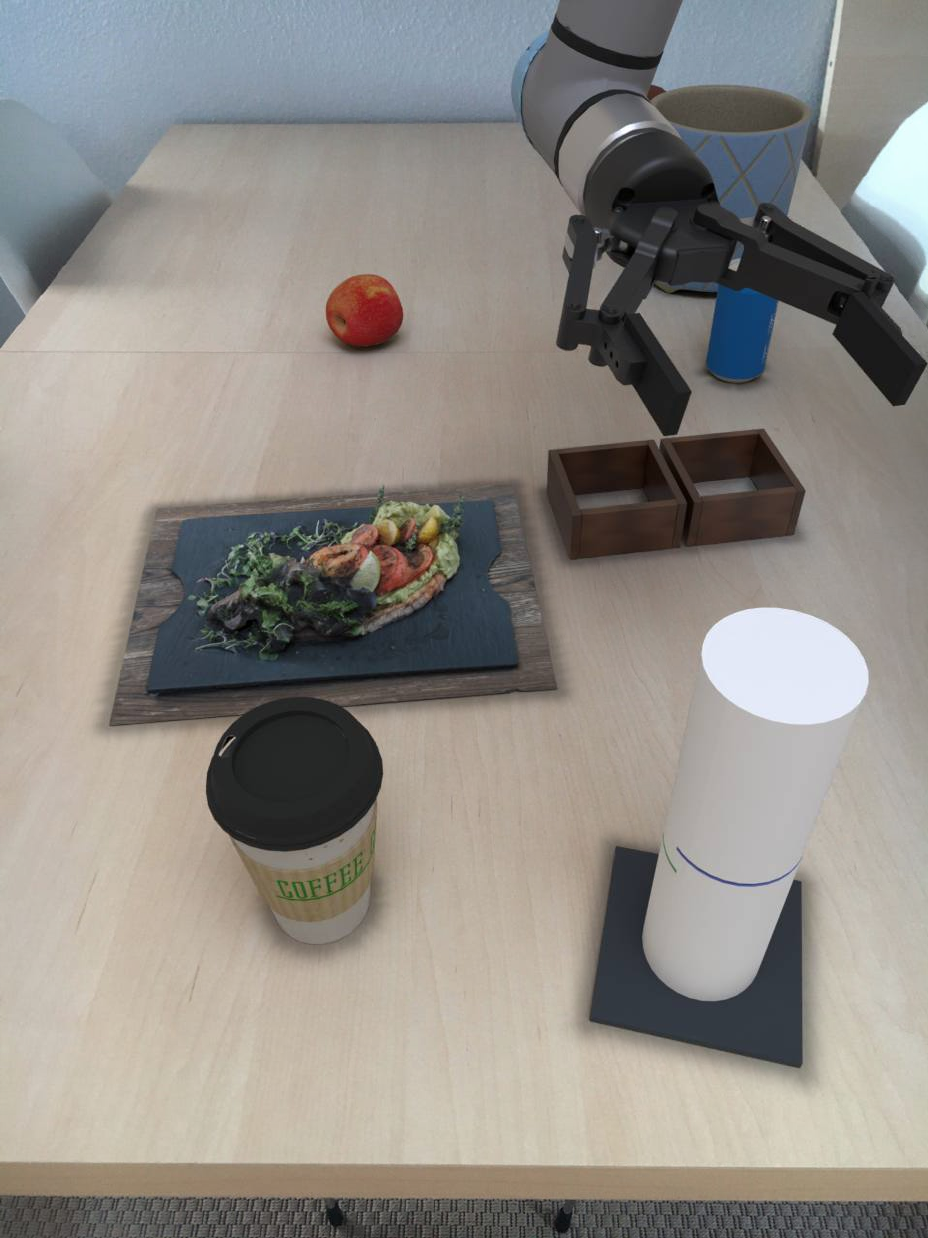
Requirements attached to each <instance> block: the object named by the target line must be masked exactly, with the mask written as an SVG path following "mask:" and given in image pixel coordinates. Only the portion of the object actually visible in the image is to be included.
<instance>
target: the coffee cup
mask: <svg viewBox="0 0 928 1238" xmlns="http://www.w3.org/2000/svg"><path fill="white" fill-rule="evenodd" d="M230 741H231V742H230ZM229 742H230V743H229ZM224 748H225V749H224ZM223 749H224V750H223ZM222 751H223V752H222ZM221 752H222V754H221ZM220 754H221V755H220ZM205 778H206V781H205V797H206V802H207V807H208V810H209V811H210V813H211V816H212V818H213V820H214V821H215V822H216V824H217V825H218V826H219V827H220V829H221V830H222V831H223V832H225V833H226V834H227V835H228V837H229V839H230V841H231V843H232V845H233V848H234V850H235V851H236V852H237V854H238V856H239V858H240V860H241V861H242V863H243V866H244V867H245V869H246V871H247V872H248V874H249V877H251V880H252V881H253V884H254V886H255V887H256V889H257V891H258V893H259V894H260V896H261V898H262V900H263V902H265V904H266V905H267V906H268V908H269V909H270V910H271V912H272V914H273V916H274V917H275V919H276V921H277V923H278V925H279V927H280V929H282V931H283V932H284V933H285V934H287V935H288V936H289V937H290V938H292V939H294V940H296V941H298V942H301V943H304V944H308V945H326V944H330V943H333V942H336V941H339V940H341V939H343V938H345V937H347V936H348V935H350V934H351V933H353V932H354V931H355V930H356V929H357V928H358V926H360V924H361V923H362V922H363V921H364V919H365V917H366V915H367V912H368V910H369V906H370V900H371V885H372V884H371V883H372V879H373V875H374V867H375V854H376V853H375V852H376V838H377V837H376V836H377V835H376V834H377V819H378V796H379V794H380V791H381V789H382V784H383V778H384V765H383V758H382V755H381V753H380V749H379V746H378V745H377V742H376V740H375V738H374V737H373V735H372V734H371V733H370V731H369V729H367V728H366V727H365V726H364V725H363V724H362V723H361V722H360V721H359V720H358V719H357V718H356V717H355V716H354V714H352V713H351V712H350V711H349V710H347V709H345V708H344V707H343V706H339V705H337V704H335V703H332V702H329V701H327V700H323V699H318V698H313V697H291V698H282V699H278V700H274V701H270V702H267V703H265V704H262V705H260V706H257V707H255V708H254V709H252V710H250V711H248V712H247V713H245V714H241V715H240V716H239V717H238V718H237V719H236V720H234V721H233V722H232V723H231V724H230V725H229V727H228V728H227V729H226V730H225V731H224V732H223V733H222V735H221V737H220V738H219V741H218V742H217V744H216V746H215V749H214V753H213V755H212V757H211V759H210V762H209V765H208V769H207V772H206V777H205Z"/></svg>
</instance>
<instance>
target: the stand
mask: <svg viewBox="0 0 928 1238" xmlns="http://www.w3.org/2000/svg"><path fill="white" fill-rule="evenodd" d="M547 451H548V452H547V453H548V454H547V473H546V493H545V494H546V497H547V498H548V502H549V505H550V507H551V510H552V512H553V515H554V519H555V522H556V525H557V527H558V530H559V533H560V536H561V539H562V542H563V545H564V547H565V550H566V552H567V555H568V559H569V560H578V559H586V558H597V557H604V556H613V555H623V554H631V553H640V552H651V551H659V550H668V549H675V548H676V549H679V548H681V543H682V540H683V542H684V545H685V546H686V547H695V546H707V545H715V544H724V543H731V542H739V541H751V540H759V539H760V540H761V539H767V538H768V539H769V538H777V537H786V536H793V535H795V533H796V529H797V526H798V521H799V517H800V514H801V510H802V506H803V503H804V499H805V495H806V492H807V491H806V489H805V487H804V486H803V484H802V483H801V481H800V479H799V478H798V477H797V474H795V472H794V471H793V469H792V467H791V466H790V464H789V463H788V462H787V460H786V459H785V458H784V456H783V455H782V453H781V452H780V450H779V449H778V447H777V446H776V444H775V443H774V441H773V440H772V438H771V437H770V436H769V434H768V432H767V431H766V429H765V428H754V429H753V428H752V429H743V430H734V431H723V432H714V433H704V434H693V435H683V436H674V437H664V438H660V440H659V446H658V444H657V442H656V441H655V439H643V440H634V441H624V442H623V441H622V442H613V443H604V444H593V445H583V446H574V447H563V448H555V449H554V448H553V449H548V450H547ZM738 478H739V479H740V478H750V479H751V481H752V483H753V484H754V485H755V487H756V489H757V490H748V491H747V490H745V491H736V492H727V493H719V494H709V495H700V494H699V492H698V489H697V488H696V486H695V484H694V483H700V482H701V483H702V482H712V481H719V480H720V481H721V480H730V479H731V480H732V479H738ZM635 489H643V491H644V493H645V495H646V498H647V500H648V501H644V502H636V503H626V504H625V503H624V504H615V505H607V506H597V507H588V508H581V509H580V506H579V504H578V501H577V499H576V496H578V495H588V494H596V493H607V492H615V491H625V490H635Z"/></svg>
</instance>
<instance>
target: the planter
mask: <svg viewBox="0 0 928 1238" xmlns="http://www.w3.org/2000/svg"><path fill="white" fill-rule="evenodd" d="M666 91H667V92H664V93H662V94H660V95H658V96H656V97H654V98H653V99H652V100H651V101H650V102H651V103H652V104H653V106H655V107H656V109H657V110H658V111H659V112H660V113H661V114H662V115H663V116H664V117H665V119H666V120H667V121H668V122H669V123H670V124H671V125H672V126H673V127H674V129H675V130H676V131H677V132H678V133H679V135H680V137H681V138H682V140H683V141H684V142H685V143H686V144H687V145H688V146H689V147H690V149H691V150H692V151H693V152H694V153H695V154H696V156H697V157H698V158H699V159H700V160H701V161H702V163H703V164H704V165H705V166H706V167H707V169H708V170H709V172H710V174H711V176H712V178H713V181H714V184H715V188H716V193H717V197H718V200H719V203H720V205H721V206H722V207H724V208H725V209H727V210H729V211H731V212H732V213H734V214H736V215H737V216H738V217H739V219H741V218H748V217H754V216H755V215H756V212H757V209H758V206H759V205H760V204H761V203H770V204H773V205H775V206H776V207H777V208H779V209H780V210H781V211H782V212H783V213H784V214H785V215H786V216H787V217H788V215H789V212H790V211H789V210H790V207H791V202H792V198H793V194H794V191H795V187H796V182H797V179H798V174H799V170H800V167H801V166H800V165H801V161H802V157H803V152H804V149H805V145H806V140H807V136H808V131H809V127H810V124H811V123H810V122H811V119H812V110H811V108H810V106H809V105H808V104H806V103H805V102H804V101H802V100H801V99H799V98H797V97H795V96H793V95H790V94H788V93H784V92H782V91H778V90H773V89H768V88H763V87H757V86H750V85H740V84H739V85H737V84H700V85H691V86H683V87H677V88H674V89H670V90H666ZM743 251H744V245H743V244H742V243H741V242H737V244H736V247H735V250H734V253H733V256H732V259H731V261H732V260H735V259H739V258H741V257H742V254H743ZM654 285H656V286H657V287H658V288H660V290H662V291H664V292H665V293H668V294H673V293H675V292H676V291H678V290H685V291H686V290H687V291H695V292H705V293H717V291H718V285H719V284H717V283H715V282H709V283H702V282H690V283H687V284H683V285H675V286H670V285H669V284H668V283H666V282H661V281H657V282H655V284H654Z"/></svg>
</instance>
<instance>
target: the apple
mask: <svg viewBox="0 0 928 1238" xmlns="http://www.w3.org/2000/svg"><path fill="white" fill-rule="evenodd" d="M325 318H326V319H325V320H326V322H327V325H328V327H329V329H330V330H331V332H332V333H333V335H334V336H335V337H336V338H337V339H339V341H340V342H342V343H344V344H346V345H347V346H351V347H371V346H374V345H380V344H382V343H384V342H387V341H388V340H390V339H392V337H393V336H394V335H395V334H397V333H398V331H399V330H400V329H401V327H402V324H403V321H404V307H403V305H402V302H401V299H400V298H399V295H398V293H397V291H396V289H395V288H394V286H393V285H392V284H391V282H390V281H388V279H386V278H385V277H383V276H380V275H378V274H372V273H364V274H357V275H354V276H350V277H349V278H346V279H345V280H343V281H341V282H340V283H338V285H337V286H336V287H335V288H333V290H332V291H331V292H330V294H329V296H328V298H327V301H326V304H325Z"/></svg>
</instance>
